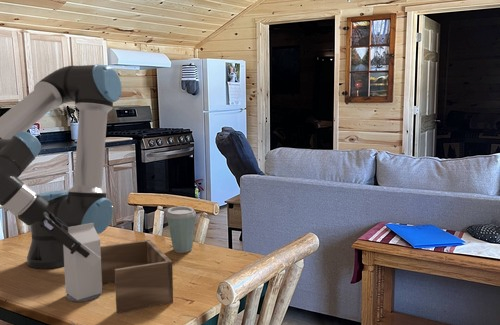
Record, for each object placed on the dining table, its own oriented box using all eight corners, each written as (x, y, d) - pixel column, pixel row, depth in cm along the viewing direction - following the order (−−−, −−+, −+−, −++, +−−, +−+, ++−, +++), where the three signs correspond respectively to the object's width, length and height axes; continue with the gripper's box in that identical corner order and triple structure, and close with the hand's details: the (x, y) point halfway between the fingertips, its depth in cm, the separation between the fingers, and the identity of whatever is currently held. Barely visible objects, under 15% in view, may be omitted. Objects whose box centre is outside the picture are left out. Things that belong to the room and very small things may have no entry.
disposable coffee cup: (202, 251, 167) (201, 209, 165) (173, 256, 161) (172, 213, 159) (189, 244, 176) (188, 204, 174) (161, 248, 170) (160, 207, 168)
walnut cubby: (101, 282, 138) (100, 246, 136) (150, 274, 144) (149, 239, 143) (117, 313, 118) (115, 270, 116) (173, 302, 124) (172, 261, 123)
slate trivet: (64, 292, 131) (64, 290, 131) (98, 286, 135) (98, 284, 135) (68, 304, 123) (68, 302, 123) (104, 298, 127) (104, 295, 127)
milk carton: (102, 293, 129) (99, 225, 126) (77, 301, 124) (74, 229, 121) (90, 286, 134) (87, 220, 131) (65, 293, 129) (62, 225, 126)
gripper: (15, 207, 129) (78, 255, 138) (16, 226, 109) (90, 281, 118) (35, 186, 131) (96, 235, 140) (40, 202, 111) (111, 257, 120)
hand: (93, 256), depth 129 cm, fingers open, 10 cm apart
